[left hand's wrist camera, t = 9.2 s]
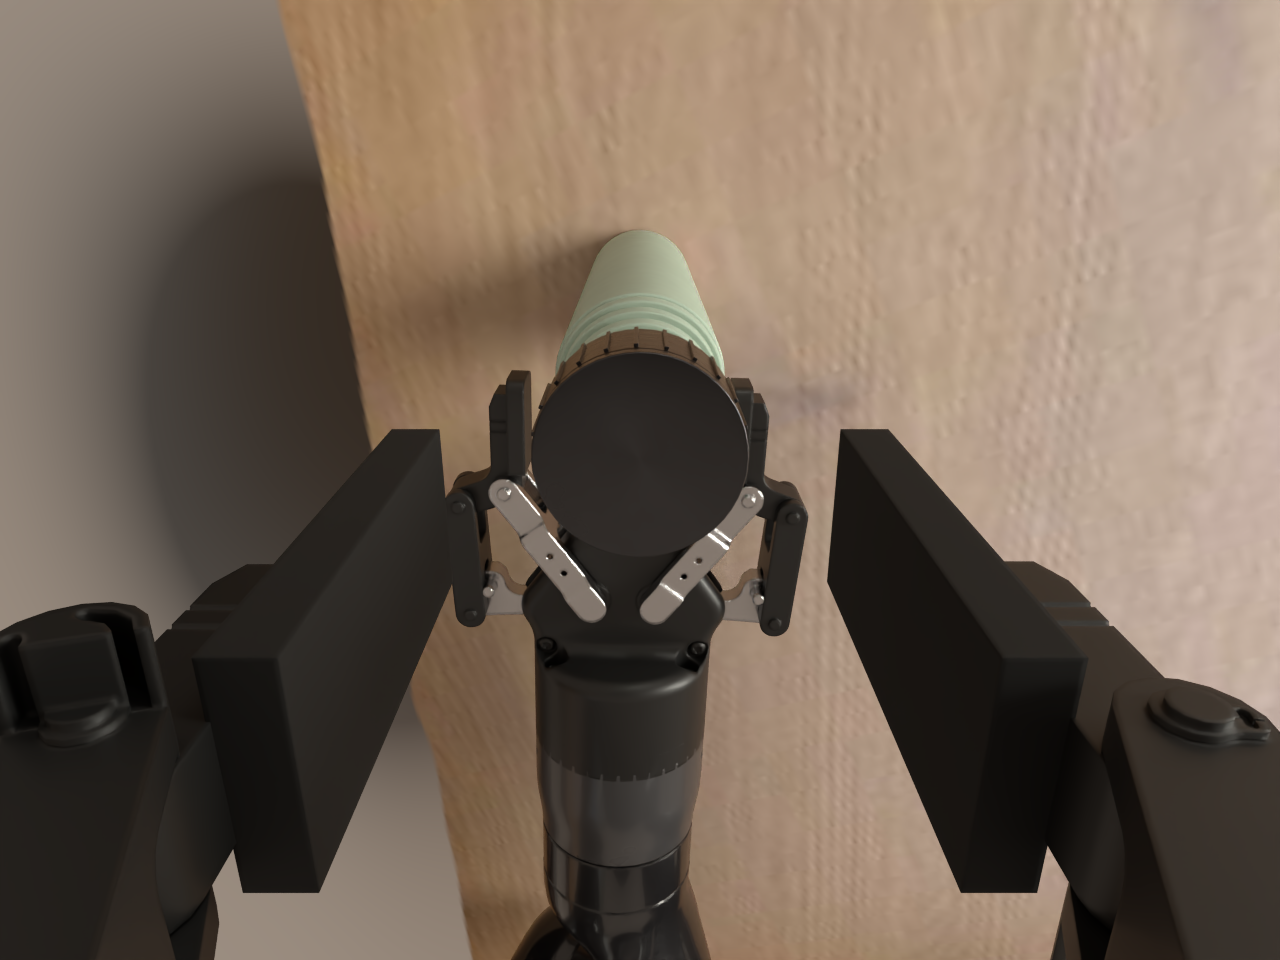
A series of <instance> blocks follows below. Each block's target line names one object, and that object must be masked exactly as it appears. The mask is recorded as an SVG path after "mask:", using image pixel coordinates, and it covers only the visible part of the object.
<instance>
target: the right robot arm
mask: <svg viewBox="0 0 1280 960" xmlns="http://www.w3.org/2000/svg"><path fill="white" fill-rule="evenodd" d="M730 381H731V383H732V386H733V389H734V391H735V394H736V396H737V399H738V403H739V405H740V408H741V411H742V413H743V416H744V418H745V421H746V424H747V427H748V429H746V432H747V439H748V445H749V462H748V471H747V475H746V479H745V483H744V486H743V489H742V491H741V494H740V496H739V498H738V500H737V502H736V503H735V505H734V507H733V508H732V510H731V511H730V513H729V514H728V515H727V516H726V518H725V519H724V520H723V521H722V522H721V523H720V524H719V525H718V526H717V527H716V528H715V529H714V530H713V531H712V532H710V533H709V534H708V535H706V536H705V537H704V538H702V539H700V540H699V541H697V542H695V543H694V544H692V545H690V546H687V547H685V548H683V549H681V550H678V551H675V552H671V553H668V554H663V555H658V556H649V557H631V556H622V555H617V554H612V553H609V552H605V551H602V550H599V549H597V548H595V547H592V546H590V545H588V544H586V543H585V542H583V541H581V540H579V539H578V538H576V537H575V536H574V535H572V534H571V533H570V532H568V531H567V530H566V529H565V528H564V527H563V526H562V525H561V524H560V523H559V522H558V521H557V520H556V519H555V518H554V517H553V515H552V514H551V513H550V511H549V510H548V509H547V507H546V505H545V503H544V502H543V500H542V498H541V496H540V494H539V491H538V489H537V486H536V483H535V479H534V476H533V475H532V473H531V472H530V471H529V470H528V467H529V464H530V462H531V444H532V436H531V432H532V412H531V373H530V371H519V370H512V371H511V373H510V374H509V376H508V378H507V380H506V385H499V386H498V388H497V390H496V392H495V393H494V395H493V398H492V400H491V403H490V406H489V420H490V452H491V466H490V467H489V468H487V469H484V470H481V471H478V472H471V471H466V472H463V473H461V474H460V475H459V476H458V477H457V478H456V480H455V482H454V484H453V488H452V490H451V491H450V492H449V493H448V495H447V496H446V498H445V499H446V510H447V521H448V533H449V544H450V555H451V567H452V578H453V582H452V586H453V594H454V603H455V611H456V617H457V619H458V621H459V622H460V623H461V624H463V625H464V626H467V627H476V626H479V625H480V624H482V623H483V621H484V619H485V616H486V615H510V614H524V616H525V617H526V619H527V620H528V622H529V623H530V625H531V627H532V630H533V633H534V638H535V693H536V754H537V779H538V787H539V793H540V798H541V803H542V809H543V845H544V857H543V861H544V882H545V888H546V893H547V898H548V902H549V904H550V906H549V907H548V908H546V909H545V910H544V911H543V912H542V913H541V914H540V915H539V916H538V917H537V919H536V920H535V921H534V923H533V924H532V925H531V927H530V928H529V930H528V931H527V933H526V934H525V936H524V938H523V939H522V941H521V943H520V944H519V946H518V948H517V950H516V951H515V953H514V955H513V957H512V958H511V960H711V958H710V954H709V950H708V946H707V942H706V938H705V934H704V931H703V927H702V923H701V919H700V915H699V912H698V907H697V903H696V899H695V896H694V892H693V890H692V887H691V884H690V880H689V877H688V872H689V863H690V862H689V858H690V843H691V828H692V817H693V810H694V806H695V802H696V798H697V794H698V790H699V784H700V776H701V767H702V752H703V736H704V724H705V710H706V696H707V681H708V667H709V653H710V642H711V638H712V635H713V633H714V631H715V629H716V628H717V627H718V625H719V624H720V623H721V621H722V620H732V621H744V622H756V623H760V627H761V630H762V631H763V632H764V633H765V634H767V635H769V636H779V635H781V634H783V633H785V632H786V631H787V629H788V627H789V623H790V617H791V612H792V606H793V601H794V595H795V589H796V584H797V578H798V572H799V567H800V561H801V556H802V550H803V544H804V539H805V533H806V527H807V522H808V513H807V511H806V508H805V506H804V504H803V502H802V500H801V497H800V495H799V493H798V491H797V489H796V487H795V486H794V485H793V484H792V483H790V482H786V481H782V482H778V481H775V480H772V479H770V478H768V477H767V476H765V475H764V469H765V458H766V446H767V435H768V424H769V414H768V411H767V408H766V405H765V402H764V400H763V398H762V396H761V394H760V393H753V386H752V384H751V382H750V380H749V378H731V379H730ZM494 507H496V508H497V509H498V510H499V511H500V513H501V514H502V515H503V516H504V517H505V519H506V520H507V521H508V522H509V523H510V525H511V526H512V527H513V528H514V529H515V531H516V532H517V533H518V535H519V538H520V541H521V544H522V546H523V547H524V549H525V550H526V551H527V552H528V553H529V555H530V556H531V557H532V558H533V559H534V561H535V562H536V563H537V564H538V565H539V566H538V567H537V568H536V570H535V571H534V572H533V573H532V575H531V576H530V577H529V579H528V580H527V582H526V585H521V584H518V583H516V582H514V581H513V580H512V579H511V578H510V576H509V573H508V570H507V568H506V567H505V566H504V565H503V564H502V563H500V562H498V561H492V556H491V546H490V536H489V526H488V517H487V510H488V509H491V508H494ZM755 515H757V516H759V517H762V518H765V522H764V529H763V535H762V541H761V548H760V554H759V560H758V567H757V569H749V570H747V571H746V572H744V573H743V574H742V576H741V578H740V581H739V583H738V585H737V586H736V587H734V588H733V589H731V590H726V591H723V590H722V587H721V585H720V583H719V582H718V580H717V579H716V578H715V576H714V575H713V574H712V572H711V571H710V570H711V569H712V567H713V566H714V565H715V564H716V563H717V562H718V561H719V560H720V559H721V558H722V557H723V556H724V555H725V553H726V552H727V550H728V549H729V546H730V543H731V541H732V540H733V538H734V537H735V536H736V535H737V534H738V533H739V532H740V531H741V530H742V529H743V528H744V527H745V525H746V524H747V523H748V522H749V521H750V520H751V519H752V518H753V517H754V516H755Z"/></svg>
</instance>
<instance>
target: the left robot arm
mask: <svg viewBox="0 0 1280 960" xmlns="http://www.w3.org/2000/svg"><path fill="white" fill-rule="evenodd" d="M452 582H453V578H452V567H451V555H450V544H449V533H448V521H447V510H446V499H445V487H444V476H443V465H442V454H441V442H440V431H439V429H392V430H391V431H390V432H389V433H388V434H387V435H386V436H385V438H384V439H383V440H382V441H381V442H380V443H379V444H378V446H377V447H376V448H375V449H374V450H373V451H372V452H371V454H370V455H369V456H368V457H367V458H366V459H365V461H364V462H363V463H362V464H361V465H360V466H359V467H358V468H357V470H356V471H355V472H354V473H353V474H352V475H351V476H350V478H349V479H348V480H347V481H346V482H345V483H344V484H343V486H342V487H341V488H340V489H339V490H338V491H337V492H336V494H335V495H334V496H333V497H332V498H331V499H330V500H329V501H328V503H327V504H326V505H325V506H324V507H323V508H322V510H321V511H320V512H319V513H318V514H317V515H316V516H315V517H314V519H313V520H312V521H311V522H310V523H309V524H308V525H307V527H306V528H305V529H304V530H303V531H302V532H301V533H300V535H299V536H298V537H297V538H296V539H295V540H294V541H293V543H292V544H291V545H290V546H289V547H288V548H287V549H286V551H285V552H284V553H283V554H282V555H281V556H280V557H279V558H278V560H277V561H276V562H275V563H274V564H247V565H245V566H243V567H241V568H239V569H238V570H236V571H234V572H232V573H230V574H229V575H227V576H225V577H223V578H221V579H219V580H218V581H216V582H214V583H212V584H211V585H210V586H209V587H208V588H207V589H206V590H205V591H204V592H203V593H202V594H201V595H200V596H199V597H198V598H197V599H196V600H195V602H194V603H193V604H192V605H191V606H190V610H186V611H185V612H184V613H183V614H182V615H181V616H180V617H179V618H178V619H177V620H176V621H175V622H174V623H173V624H172V629H167V630H166V631H165V632H164V633H163V634H162V635H161V636H160V637H159V638H158V639H157V640H156V641H155V642H154V638H153V634H152V630H151V625H150V621H149V617H148V614H146V613H145V612H143V611H142V610H140V609H139V608H137V607H136V606H133V605H127V604H120V603H114V602H106V603H90V604H79V605H75V606H70V607H66V608H60V609H56V610H51V611H47V612H45V613H42V614H39V615H36V616H33V617H31V618H28V619H25V620H22V621H19V622H17V623H15V624H13V625H11V626H9V627H7V628H6V629H4V630H2V631H0V960H214V956H215V949H216V942H217V934H218V928H219V918H218V911H217V904H216V900H215V896H214V892H213V887H212V884H213V883H214V881H215V879H216V877H217V876H218V874H219V872H220V871H221V869H222V867H223V865H224V864H225V862H226V860H227V858H228V857H229V855H230V853H231V852H232V850H234V854H235V859H236V863H237V868H238V872H239V877H240V882H241V886H242V891H243V893H319V892H320V889H321V887H322V885H323V882H324V880H325V878H326V875H327V873H328V871H329V868H330V866H331V864H332V861H333V859H334V857H335V855H336V852H337V850H338V848H339V845H340V843H341V841H342V838H343V836H344V833H345V831H346V829H347V826H348V824H349V822H350V820H351V817H352V815H353V812H354V810H355V808H356V806H357V803H358V801H359V799H360V796H361V794H362V792H363V789H364V787H365V785H366V782H367V780H368V778H369V775H370V773H371V771H372V768H373V766H374V764H375V761H376V759H377V757H378V755H379V752H380V750H381V748H382V745H383V743H384V741H385V738H386V736H387V733H388V731H389V729H390V727H391V724H392V722H393V720H394V717H395V715H396V713H397V710H398V708H399V705H400V703H401V701H402V699H403V696H404V694H405V692H406V689H407V687H408V685H409V682H410V680H411V678H412V675H413V673H414V671H415V668H416V666H417V664H418V661H419V659H420V657H421V655H422V652H423V650H424V648H425V645H426V643H427V641H428V638H429V636H430V634H431V631H432V629H433V627H434V624H435V622H436V620H437V617H438V615H439V613H440V610H441V608H442V606H443V603H444V601H445V599H446V596H447V594H448V592H449V589H450V587H451V585H452ZM827 582H828V585H829V587H830V589H831V592H832V594H833V596H834V599H835V601H836V603H837V606H838V608H839V610H840V613H841V615H842V617H843V620H844V622H845V624H846V627H847V629H848V631H849V634H850V636H851V638H852V641H853V643H854V645H855V648H856V650H857V652H858V655H859V657H860V659H861V661H862V664H863V666H864V668H865V671H866V673H867V675H868V678H869V680H870V682H871V685H872V687H873V689H874V692H875V694H876V696H877V699H878V701H879V703H880V706H881V708H882V710H883V713H884V715H885V717H886V720H887V722H888V724H889V727H890V729H891V731H892V734H893V736H894V738H895V741H896V743H897V745H898V748H899V750H900V752H901V755H902V757H903V759H904V761H905V764H906V766H907V768H908V771H909V773H910V775H911V778H912V780H913V782H914V785H915V787H916V789H917V792H918V794H919V796H920V799H921V801H922V803H923V806H924V808H925V810H926V813H927V815H928V817H929V820H930V822H931V824H932V827H933V829H934V831H935V834H936V836H937V838H938V841H939V843H940V845H941V848H942V850H943V852H944V855H945V857H946V859H947V862H948V864H949V866H950V868H951V871H952V873H953V875H954V878H955V880H956V882H957V885H958V887H959V889H960V892H961V893H1037V891H1038V886H1039V882H1040V877H1041V873H1042V868H1043V864H1044V859H1045V854H1046V850H1047V845H1048V847H1049V849H1050V850H1051V852H1052V854H1053V856H1054V857H1055V859H1056V861H1057V862H1058V864H1059V866H1060V868H1061V869H1062V871H1063V873H1064V874H1065V876H1066V878H1067V880H1068V881H1069V883H1068V887H1067V892H1066V896H1065V900H1064V904H1063V909H1062V913H1061V917H1060V921H1059V926H1058V930H1057V934H1056V938H1055V942H1054V947H1053V951H1052V955H1051V959H1050V960H1280V732H1279V731H1278V729H1277V728H1276V727H1275V726H1274V725H1273V724H1272V723H1271V722H1270V720H1269V719H1268V718H1267V717H1266V716H1264V715H1263V714H1261V713H1260V712H1258V711H1257V710H1255V709H1254V708H1252V707H1250V706H1249V705H1247V704H1246V703H1244V702H1243V701H1241V700H1239V699H1237V698H1235V697H1232V696H1230V695H1227V694H1225V693H1223V692H1220V691H1218V690H1216V689H1213V688H1211V687H1208V686H1204V685H1200V684H1196V683H1192V682H1188V681H1184V680H1180V679H1170V678H1164V677H1163V676H1162V675H1161V674H1160V673H1159V672H1158V671H1157V670H1156V669H1155V668H1154V667H1153V666H1152V665H1151V664H1150V663H1149V662H1148V661H1147V660H1146V659H1145V658H1144V657H1143V655H1142V654H1141V653H1140V652H1139V651H1138V650H1137V649H1136V648H1135V647H1134V646H1133V645H1132V644H1131V643H1130V642H1129V641H1128V640H1127V639H1126V638H1125V637H1124V636H1123V635H1122V634H1121V633H1120V632H1119V631H1118V630H1117V629H1116V628H1115V627H1114V626H1109V621H1108V620H1107V619H1106V618H1105V617H1104V616H1103V615H1102V614H1101V613H1100V612H1099V611H1098V610H1097V609H1096V608H1095V607H1091V606H1090V602H1089V601H1088V600H1087V599H1086V598H1085V597H1084V596H1083V595H1082V594H1081V593H1080V592H1079V591H1078V590H1077V589H1076V588H1075V587H1074V586H1073V585H1072V584H1071V583H1070V582H1069V581H1068V580H1067V579H1065V578H1063V577H1061V576H1059V575H1057V574H1056V573H1054V572H1052V571H1050V570H1048V569H1046V568H1045V567H1043V566H1041V565H1039V564H1037V563H1035V562H1004V561H1003V560H1002V558H1001V557H1000V556H999V555H998V554H997V553H996V552H995V551H994V549H993V548H992V547H991V546H990V545H989V544H988V543H987V541H986V540H985V539H984V538H983V537H982V536H981V535H980V533H979V532H978V531H977V530H976V529H975V528H974V527H973V525H972V524H971V523H970V522H969V521H968V520H967V519H966V517H965V516H964V515H963V514H962V513H961V512H960V511H959V509H958V508H957V507H956V506H955V505H954V504H953V503H952V501H951V500H950V499H949V498H948V497H947V496H946V495H945V494H944V492H943V491H942V490H941V489H940V488H939V487H938V486H937V484H936V483H935V482H934V481H933V480H932V479H931V478H930V476H929V475H928V474H927V473H926V472H925V471H924V470H923V468H922V467H921V466H920V465H919V464H918V463H917V462H916V460H915V459H914V458H913V457H912V456H911V455H910V454H909V452H908V451H907V450H906V449H905V448H904V447H903V446H902V444H901V443H900V442H899V441H898V440H897V439H896V438H895V436H894V435H893V434H892V433H891V432H890V431H889V430H888V429H841V431H840V442H839V454H838V465H837V476H836V487H835V499H834V510H833V521H832V533H831V544H830V555H829V567H828V578H827Z"/></svg>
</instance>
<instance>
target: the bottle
mask: <svg viewBox="0 0 1280 960" xmlns="http://www.w3.org/2000/svg"><path fill="white" fill-rule="evenodd" d="M634 327H638V328H639V329H651V330H658V331H662V330H663V329H665V330H667V333H670V334H673V335H676V336H679V337H681V338H683V339H685V340H687V341H688V340H689V339H690V340H692V341H693V344H694V345H695V346H697V347H698V348H700V349H701V350H702V351H704V352H705V353H706V354H707V355H708V356H709V357H711V356H713V357H714V358H715V361H716V364H717V366H718V367H719V368H720V370H721V371H722V373H723V374H724V363H723V357H722V353H721V350H720V347H719V344H718V341H717V339H716V336H715V334H714V331H713V329H712V326H711V324H710V321H709V319H708V316H707V314H706V311H705V309H704V306H703V304H702V301H701V299H700V296H699V294H698V291H697V289H696V286H695V284H694V281H693V279H692V276H691V273H690V271H689V268H688V266H687V263H686V261H685V259H684V257H683V255H682V253H681V252H680V250H679V249H678V248H677V247H676V245H675V244H674V243H672V242H671V241H670V240H669V239H667V238H666V237H664V236H662V235H660V234H658V233H655V232H652V231H647V230H633V231H628V232H625V233H622V234H620V235H618V236H616V237H614V238H613V239H611V240H610V241H609V242H608V243H606V244H605V245H604V247H603V248H602V249H601V250H600V252H599V253H598V255H597V257H596V259H595V261H594V263H593V266H592V268H591V271H590V273H589V276H588V278H587V281H586V284H585V286H584V289H583V291H582V294H581V296H580V299H579V301H578V304H577V306H576V309H575V311H574V314H573V316H572V319H571V321H570V324H569V326H568V329H567V331H566V334H565V336H564V339H563V341H562V344H561V347H560V350H559V353H558V356H557V362H556V374H557V373H558V370H559V367H560V364H561V362H562V361H565V362H566V361H567V360H568V359H569V358H570V357H571V356H572V355H573V354H574V353H575V352H576V351H578V350H579V349H580V347H581V344H583V343H585V344H588V343H589V342H591V341H593V340H595V339H597V338H599V337H601V336H604V335H606V332H608V331H610V332H611V333H613V332H617V331H622V330H629V329H634ZM555 376H556V375H555Z"/></svg>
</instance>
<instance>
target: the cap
mask: <svg viewBox="0 0 1280 960" xmlns="http://www.w3.org/2000/svg"><path fill="white" fill-rule="evenodd" d="M539 409H540V411H539V414H538V416H537V419H536V422H535V424H534V427H533V430H532V432H531V436H533V438H532V444H531V463H532V471H533V476H534V479H535V483H536V486H537V489H538V491H539V494H540V496H541V498H542V500H543V502H544V503H545V505H546V507H547V509H548V510H549V511H550V513H551V514H552V515H553V517H554V518H555V519H556V520H557V521H558V522H559V523H560V524H561V525H562V526H563V527H564V528H565V529H566V530H567V531H568V532H570V533H571V534H572V535H574V536H575V537H576V538H578V539H579V540H581V541H583V542H585V543H586V544H588V545H590V546H592V547H595V548H597V549H599V550H602V551H605V552H609V553H612V554H617V555H622V556H631V557H649V556H658V555H663V554H668V553H671V552H675V551H678V550H681V549H683V548H685V547H687V546H690V545H692V544H694V543H695V542H697V541H699V540H700V539H702V538H704V537H705V536H706V535H708V534H709V533H710V532H712V531H713V530H714V529H715V528H716V527H717V526H718V525H719V524H720V523H721V522H722V521H723V520H724V519H725V518H726V516H727V515H728V514H729V513H730V511H731V510H732V508H733V507H734V505H735V503H736V502H737V500H738V498H739V496H740V494H741V491H742V489H743V486H744V483H745V479H746V475H747V471H748V462H749V445H748V439H747V432H746V429H748V427H747V424H746V421H745V418H744V416H743V413H742V411H741V408H740V405H739V403H738V399H737V396H736V394H735V391H734V389H733V386H732V383H731V381H730V379H729V377H728V378H726V377H725V376H724V374H723V373H722V371H721V370H720V368H719V367H718V366H717V364H716V361H715V358H714V357H713V356H711V357H709V356H708V355H707V354H706V353H705V352H704V351H702V350H701V349H700V348H698V347H697V346H695V345H694V344H693V341H692V340H690V339H689V340H688V341H687V340H685V339H683V338H681V337H679V336H676V335H673V334H670V333H667V330H665V329H663V330H662V331H658V330H651V329H639V328H638V327H634V329H629V330H622V331H617V332H613V333H611V332H610V331H608V332H606V335H604V336H601V337H599V338H597V339H595V340H593V341H591V342H589V343H588V344H585V343H583V344H581V347H580V349H579V350H578V351H576V352H575V353H574V354H573V355H572V356H571V357H570V358H569V359H568V360H567V361H566V362H565V361H562V362H561V364H560V367H559V370H558V373H557V374H556V376H555V377H554V379H553V381H552V383H551V384H549V383H548V385H547V387H546V390H545V392H544V395H543V397H542V400H541V403H540V405H539Z"/></svg>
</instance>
